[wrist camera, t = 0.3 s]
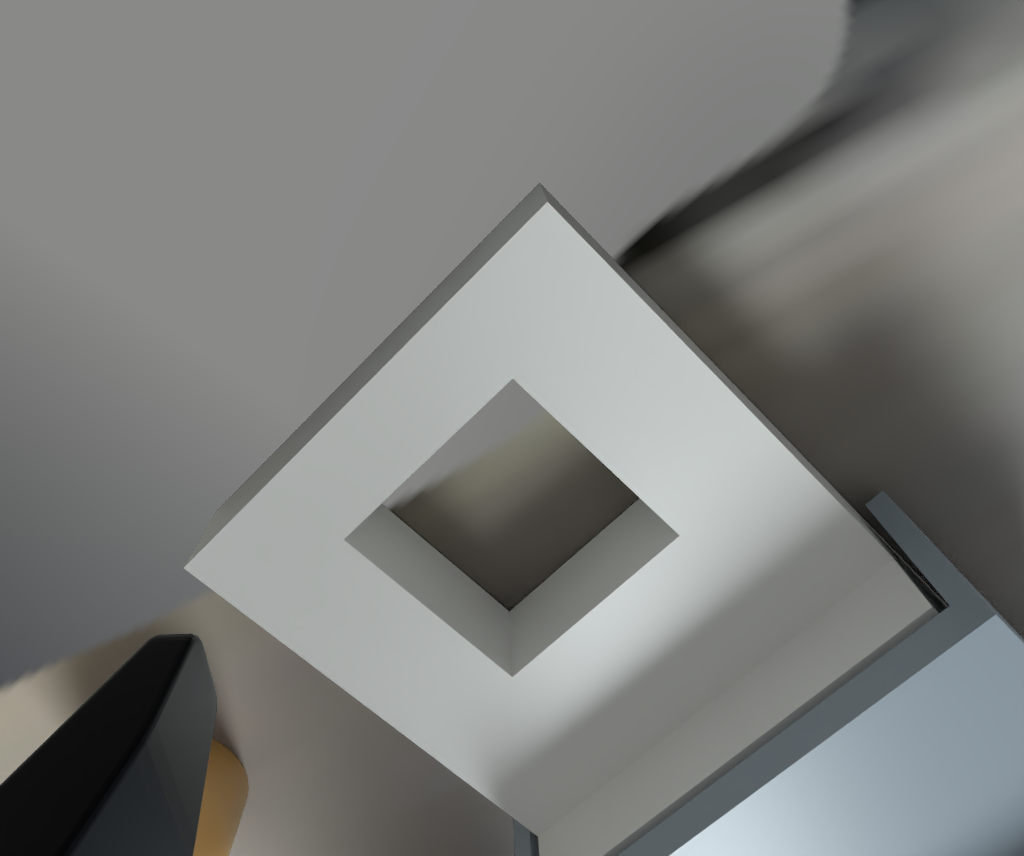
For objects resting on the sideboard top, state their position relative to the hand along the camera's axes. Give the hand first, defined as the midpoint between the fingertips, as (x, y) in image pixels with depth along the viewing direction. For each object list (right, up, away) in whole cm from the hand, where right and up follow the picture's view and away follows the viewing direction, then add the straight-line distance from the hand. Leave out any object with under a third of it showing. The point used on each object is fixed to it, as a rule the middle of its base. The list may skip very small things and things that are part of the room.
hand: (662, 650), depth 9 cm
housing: (+2, -3, +17) cm, 17 cm away
